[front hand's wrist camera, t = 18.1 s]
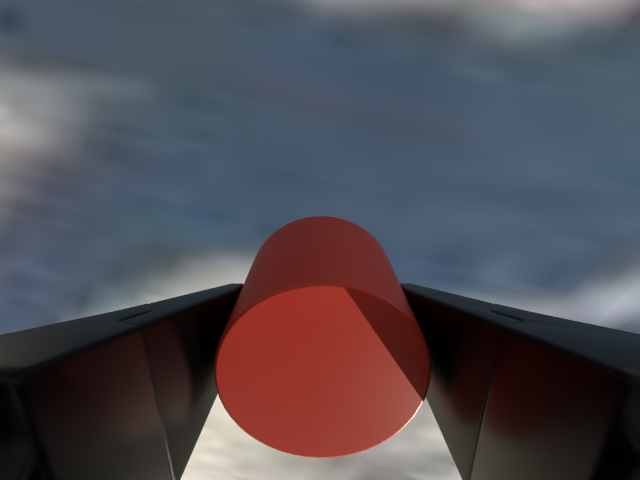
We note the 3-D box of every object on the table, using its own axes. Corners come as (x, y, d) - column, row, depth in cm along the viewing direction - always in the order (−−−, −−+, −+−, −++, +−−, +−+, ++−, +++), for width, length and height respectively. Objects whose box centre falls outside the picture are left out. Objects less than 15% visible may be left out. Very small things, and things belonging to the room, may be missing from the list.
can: (406, 229, 11) (461, 302, 7) (373, 349, 13) (401, 470, 9) (260, 203, 11) (221, 264, 7) (244, 330, 13) (205, 445, 8)
